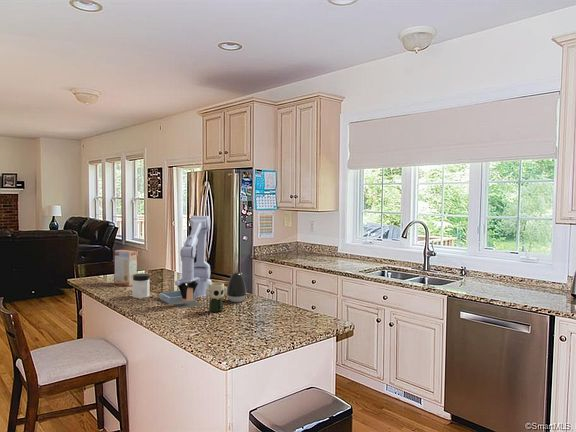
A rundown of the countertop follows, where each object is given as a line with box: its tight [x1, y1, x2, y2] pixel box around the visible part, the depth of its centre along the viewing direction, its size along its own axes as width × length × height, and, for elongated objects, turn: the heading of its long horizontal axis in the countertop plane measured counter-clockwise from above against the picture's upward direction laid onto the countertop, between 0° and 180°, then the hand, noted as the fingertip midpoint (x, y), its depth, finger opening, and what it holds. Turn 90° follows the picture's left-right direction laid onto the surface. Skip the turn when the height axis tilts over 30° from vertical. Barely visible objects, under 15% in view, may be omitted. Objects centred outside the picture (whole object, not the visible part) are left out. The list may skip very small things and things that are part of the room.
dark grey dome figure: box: [226, 271, 247, 303], centre depth 224 cm, size 10×10×15 cm
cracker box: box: [114, 249, 138, 287], centre depth 261 cm, size 14×6×21 cm, turn 58°
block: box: [181, 287, 193, 302], centre depth 213 cm, size 4×4×6 cm
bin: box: [158, 290, 197, 305], centre depth 223 cm, size 14×14×4 cm
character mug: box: [205, 282, 228, 313], centre depth 203 cm, size 11×7×13 cm, turn 127°
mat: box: [172, 301, 203, 310], centre depth 213 cm, size 12×10×1 cm
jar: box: [131, 273, 151, 299], centre depth 229 cm, size 9×8×12 cm
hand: (187, 297), depth 213 cm, fingers closed on block, 4 cm apart
